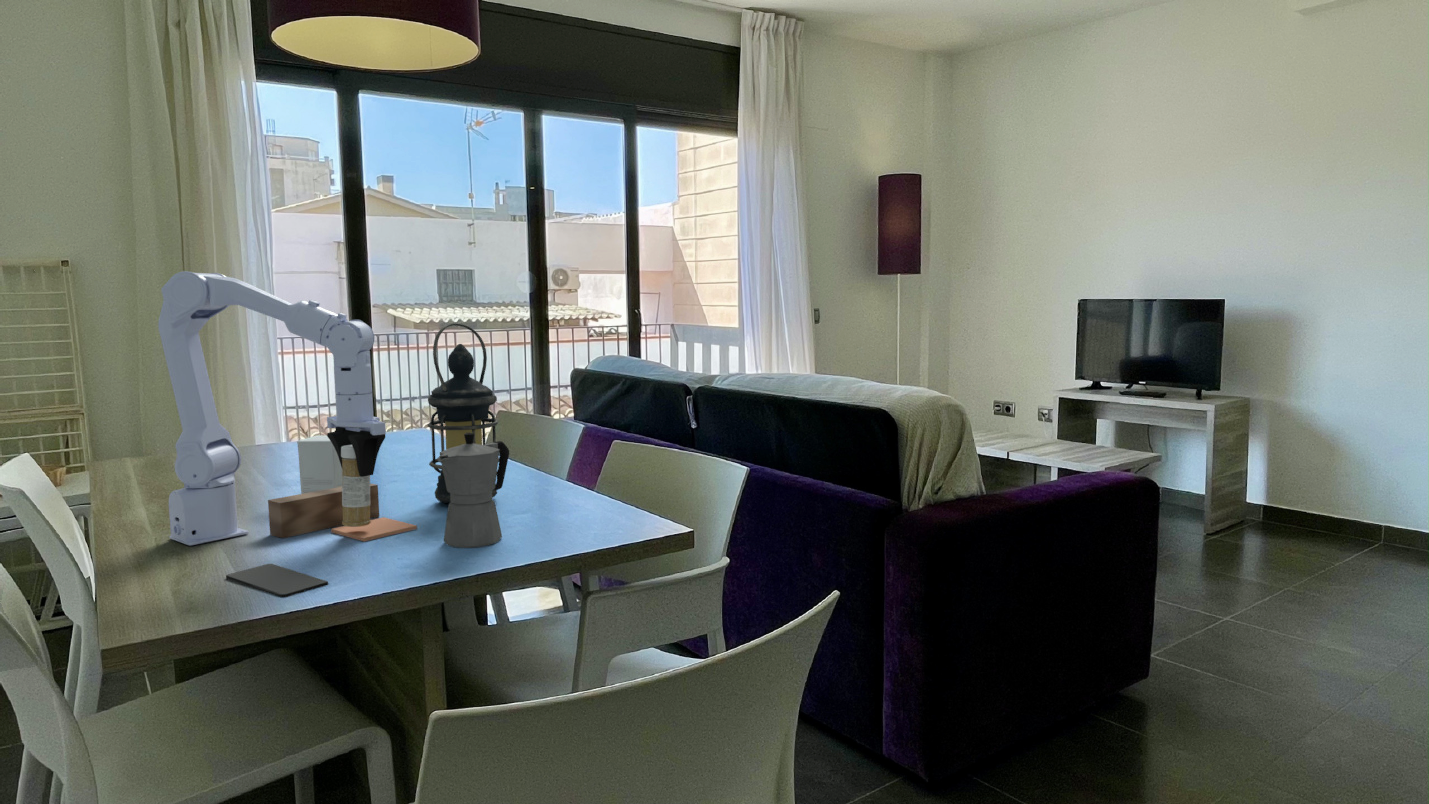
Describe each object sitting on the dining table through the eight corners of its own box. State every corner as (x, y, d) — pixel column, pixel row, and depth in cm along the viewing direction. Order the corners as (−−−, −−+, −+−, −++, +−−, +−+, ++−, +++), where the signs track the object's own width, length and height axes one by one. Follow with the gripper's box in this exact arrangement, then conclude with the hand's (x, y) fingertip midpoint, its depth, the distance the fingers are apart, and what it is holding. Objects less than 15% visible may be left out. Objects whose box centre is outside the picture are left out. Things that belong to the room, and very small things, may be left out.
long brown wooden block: (282, 538, 148) (279, 503, 147) (269, 534, 150) (266, 499, 150) (379, 517, 162) (377, 484, 161) (365, 513, 165) (364, 482, 164)
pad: (364, 541, 146) (364, 537, 146) (331, 532, 152) (331, 528, 152) (417, 528, 154) (416, 525, 153) (383, 520, 160) (383, 517, 159)
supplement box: (355, 496, 180) (351, 434, 178) (336, 504, 172) (332, 440, 171) (320, 495, 180) (317, 434, 179) (300, 504, 173) (296, 440, 172)
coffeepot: (464, 554, 138) (460, 440, 136) (421, 546, 142) (416, 436, 140) (531, 532, 151) (528, 427, 149) (489, 525, 156) (486, 424, 154)
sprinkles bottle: (354, 521, 152) (353, 443, 151) (376, 523, 151) (376, 444, 150) (335, 526, 147) (334, 446, 146) (359, 528, 146) (358, 447, 145)
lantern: (467, 513, 165) (460, 324, 161) (414, 506, 170) (405, 323, 166) (516, 497, 177) (510, 322, 173) (464, 492, 183) (458, 322, 179)
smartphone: (283, 595, 118) (224, 574, 126) (283, 601, 118) (224, 581, 127) (330, 581, 124) (270, 562, 132) (330, 587, 124) (271, 568, 132)
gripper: (400, 393, 146) (404, 474, 147) (352, 388, 155) (356, 465, 156) (360, 397, 140) (365, 481, 142) (313, 392, 149) (318, 471, 151)
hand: (358, 473), depth 149 cm, fingers closed on sprinkles bottle, 4 cm apart
